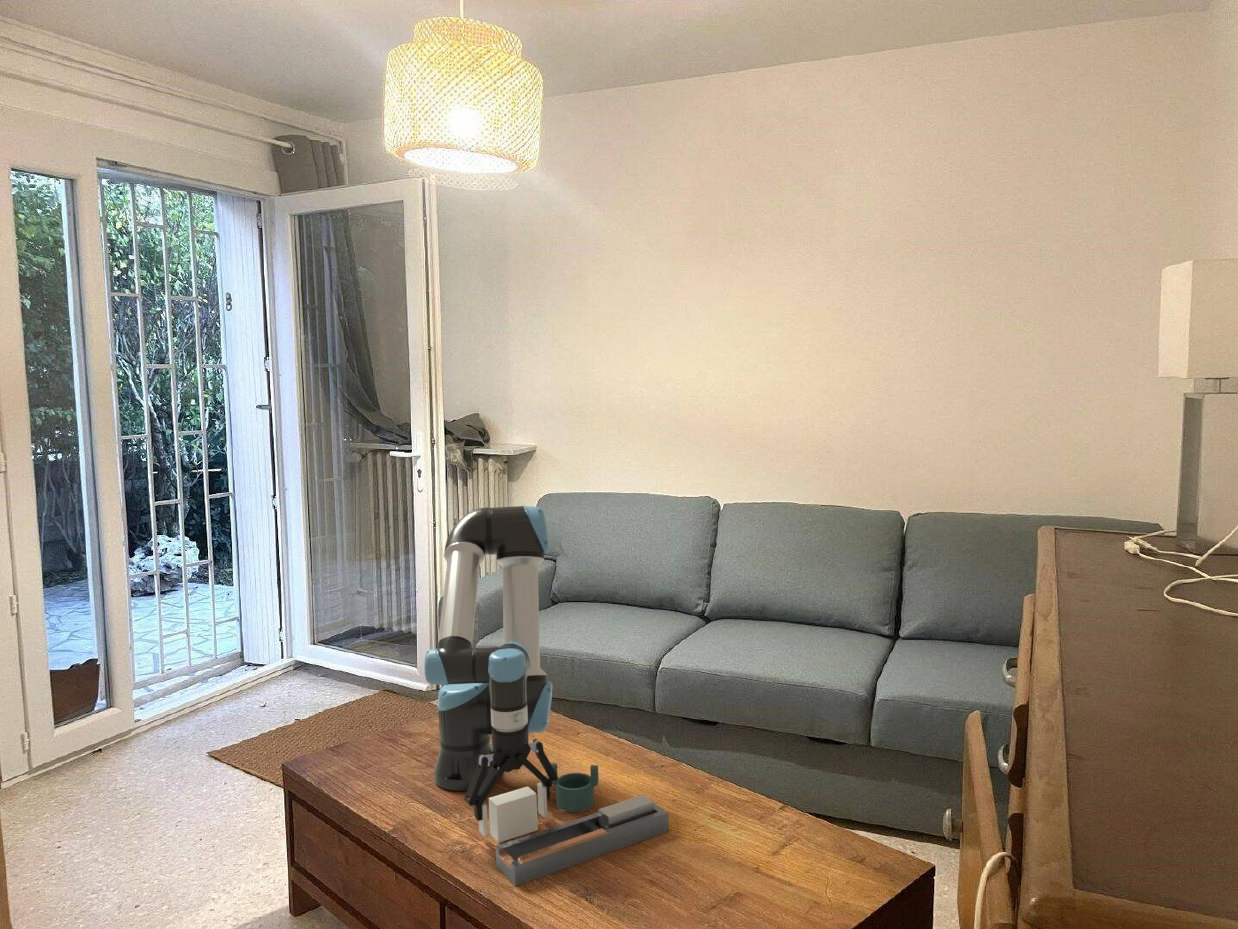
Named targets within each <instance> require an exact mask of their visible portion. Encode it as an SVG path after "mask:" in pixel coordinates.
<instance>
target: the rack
mask: <svg viewBox="0 0 1238 929" xmlns="http://www.w3.org/2000/svg"><path fill="white" fill-rule="evenodd" d="M669 826H670V825H669V812H668V811H667V810H665V809H664V808H662V807H661V806H659V805H658V804H656V803H655V802H654V800H651V799H650V797H648V796H647V795H644V794H641V795H638V796H635V797H632V798H628V799H626V800H623V801H619V802H617V803H613V804H611V805H607V806H604V807H601V808H599V809H598V812H596V813H592V814H589V815H587V816H586V815H585V816H584V817H581V818H578V819H575V820H572V821H568V822H565V823H562V824H559V825H556V826H553V827H550V828H547V829H543V830H541V831H538V832H535V833H534V832H533V833H532V834H529V835H526V836H523V837H520V838H517V839H514V840H509V841H508V842H505V843H502V844H498V845H495V865H496V867H497V869H499V871H500V872H501V873H502V874H503V875H504V876H505V877H506V878H507V879H508V880H509V881H510V883H511V884H513V885H514V886H515V887H518V886H521V885H523V884H526V883H528V882H532V881H535V880H537V879H540V878H543V877H546V876H548V875H552V874H554V873H557V872H559V871H561V870H564V869H568V868H571V867H573V866H577V865H579V864H581V863H584V862H587V861H590V860H593V859H596V858H598V857H602V856H604V855H607V854H610V853H612V852H614V851H615V852H616V851H618V850H620V849H623V848H626V847H629V846H632V845H634V844H637V843H640V842H643V841H645V840H648V839H652V838H653V837H657V836H660V835H662V834H665V833H668V832H669V829H670V828H669Z"/></svg>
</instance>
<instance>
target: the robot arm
mask: <svg viewBox="0 0 1238 929" xmlns="http://www.w3.org/2000/svg"><path fill="white" fill-rule="evenodd" d="M545 516H546V515H545V512H544V510H543V509H542V507H539V506H533V505H532V506H531V505H530V506H527V505H520V506H518V505H517V506H500V507H499V506H497V507H496V506H495V507H479V508H476V509H474V510H471V511H470V512H468V513H466V514H465V515H464V516H463V517H461V519H460V520H459V521H458V522H456V524H455V525H454V526H453V528H452V529H451V531H450V532H449V534H448V537H447V539H446V542H445V545H444V553H443V554H444V555H443V556H444V559H445V561H446V563H447V564H446V572H445V580H444V588H443V596H442V605H441V612H440V613H441V614H440V623H439V631H438V638H437V647H436V648H432V649H428V650H427V651H426V653H425V657H424V668H423V669H424V677H425V680H426V682H427V684H429V685H434V686H435V685H437V686H442V687H440V689H439V691H438V696H437V697H438V698H437V701H438V702H437V712H438V722H439V723H438V726H439V743H440V744H439V746H440V748H439V753H438V755H437V759H436V762H435V765H434V770H433V779H434V783H435V784H436V786H438V787H439V788H441V789H444V790H448V791H454V792H456V791H457V792H460V791H461V792H462V791H463V792H465V791H466V794H465V796H464V798H463V799H464V800H463V801H464V802H466V803H467V805H469V806H470V807H471V806H472V807H473V812H474V814H473V815H474V818H475V820H476V821H477V822H478V831H479V833H480V834H481V835H482V836H483V837H484V838H485V837H489V831H488V806H487V804H486V803H485V801H486V800H487V798H489V796H490V795H489V794H491V791H492V790H493V788H494V787H495V785H496V784H497V783H498V780H499V779H500V778H501V777H502V776H503V775H504V773H510V772H512V771H515V770H521V768H522V767H525V768H526V769H527V770H528V771H529V772H530V773H531V774H532V775H533V776H534V777H536V778H537V779H538V781H539V782H538V783H536V785H537V814H539V815H541V817H543V818H547V817H548V802H547V801H548V800H550V798H551V787H552V786H553V784H552V781H556V780H557V779H558V778H559V776H558V773H557V774H556V772H555V770H554V769H553V767H552V765H551V762H550V760H549V758H548V757H547V755H546V753H545V751H544V744H543V743H542V741H540V740H539V739H537V738H534V739H533V740H532V742H530V743H529V740H530V739H529V738H530V737H529V734H534V733H535V734H536V733H542V732H544V731H546V729H548V727H549V721H550V714H551V709H552V707H551V706H552V700H553V698H552V697H553V682H552V681H550V680H547V673H546V672H545V671H544V669H542V668H541V666H540V664H541V662H540V661H541V660H540V659H541V658H540V656H541V655H540V610H539V609H540V608H539V607H540V606H539V605H540V604H539V598H540V596H539V567H540V565H541V564H542V563H543V562H544V561H545V554H548V553H550V541H549V540H550V539H549V535H548V528H547V521H546V517H545ZM486 555H490V556H491V555H493V556H494V555H496V562H497V564H499V566H501V567H502V601H503V602H502V603H503V604H502V610H503V612H502V613H503V615H502V616H503V619H502V620H503V626H502V627H503V631H502V632H503V636H502V637H503V644H502V645H500V646H489V647H473V644H474V643H473V641H474V631H475V630H474V629H475V621H476V619H475V618H476V608H477V607H476V606H477V595H478V585H479V574H480V566H481V564H482V563H483V562H484V560H485V556H486ZM490 736H491V737H490ZM490 738H491V739H490ZM530 752H533V753H535V755H536V758H537V759H538V760H539V763H540V764H541V767H542V768H543V770H544V771H545V773H546V775H544V773H543V772H541V771H540V770H539V769H538V768H537V766H534V764H533V763H531V761H529V760H528V759H527V758H528V756H530Z"/></svg>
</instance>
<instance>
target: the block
mask: <svg viewBox="0 0 1238 929" xmlns="http://www.w3.org/2000/svg"><path fill="white" fill-rule="evenodd" d="M488 813H489V814H488V815H489V830H490V831H489V834H490V836H491V837H492V838H493V839H494V840H495V841H496V842H497V843H498V844H499V843H503V842H506V841H508V840H509V841H510V840H511V839H514V838H517V837H521V836H523V835H526V834H529V833H532V832H533V833H534V832H535V831H538V829H539V826H538V823H539V822H538V795H537V793H536V792H535V791H534V790H532V788H531V787H529V786H528V785H527V786H524V787H521V788H518V789H514V790H511V791H508V792H505V793H501V794H498V795H495V796H491V797H488Z"/></svg>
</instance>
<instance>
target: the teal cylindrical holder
mask: <svg viewBox="0 0 1238 929" xmlns="http://www.w3.org/2000/svg"><path fill="white" fill-rule="evenodd" d="M550 763H551V762H550ZM551 765H552V767H553V769H554V770H555V772H556V774H557V775H558V763H554V762H553V763H551ZM589 769H590V774H587V773H583V772H569V773H566V774H562V775H560V776H558V779H557V780H556V781H552V786H555V795H556V796H555V800H556V807H557V808H558V809H559V810H560V809H562V810H561V811H563V810H565V811H564V812H566V811H569V812H568V813H579V812H578V811H581V812H584V811H583V810H585V811H587V810H590V809H591V808H592V807H593V806H594V802H595V794H594V792H595V791H594V788H595V787H597V786H598V785H599V783H600V782H599V781H600V778H599V765H596V764H590V768H589ZM592 805H593V806H592ZM586 809H587V810H586Z"/></svg>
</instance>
